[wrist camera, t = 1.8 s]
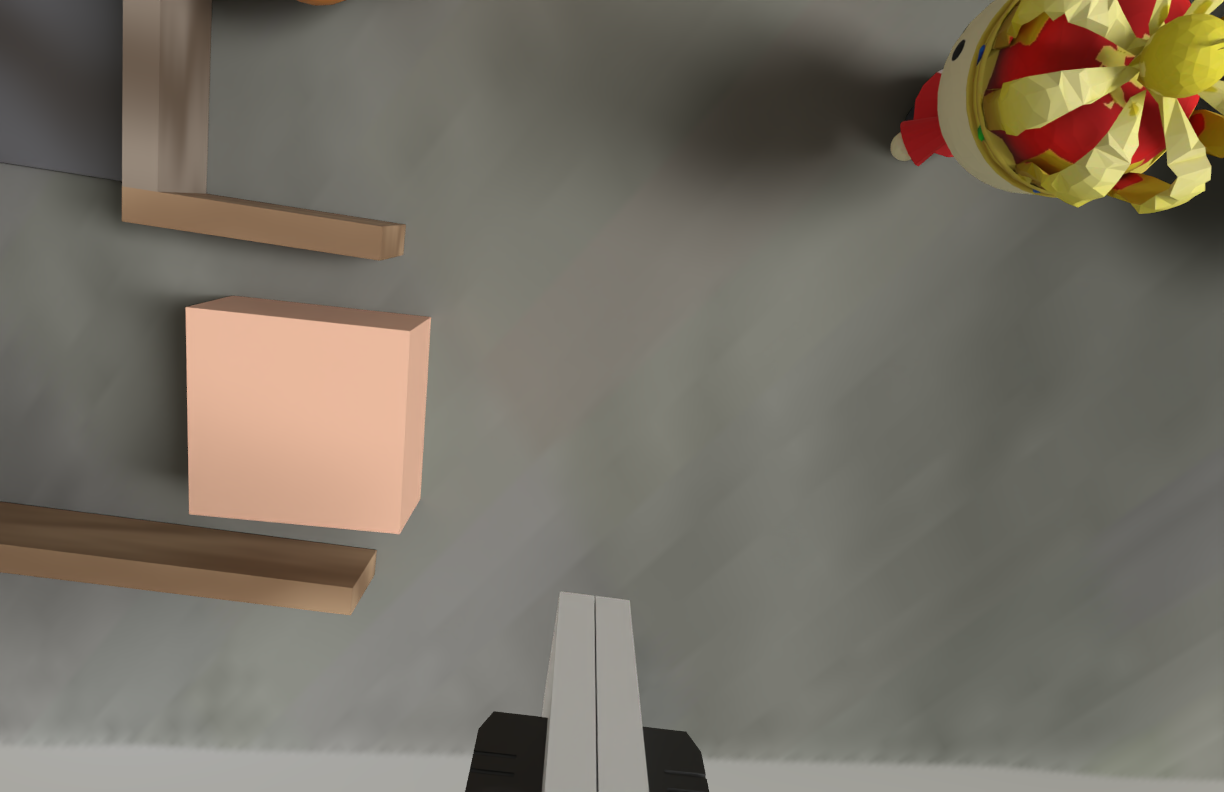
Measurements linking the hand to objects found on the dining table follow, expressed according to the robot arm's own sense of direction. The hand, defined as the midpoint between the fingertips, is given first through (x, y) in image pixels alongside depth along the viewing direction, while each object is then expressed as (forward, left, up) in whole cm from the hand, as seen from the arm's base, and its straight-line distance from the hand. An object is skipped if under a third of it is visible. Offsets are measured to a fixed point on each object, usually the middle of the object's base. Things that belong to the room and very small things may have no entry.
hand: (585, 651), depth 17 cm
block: (0, -11, -17) cm, 20 cm away
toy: (-15, +12, -17) cm, 25 cm away
